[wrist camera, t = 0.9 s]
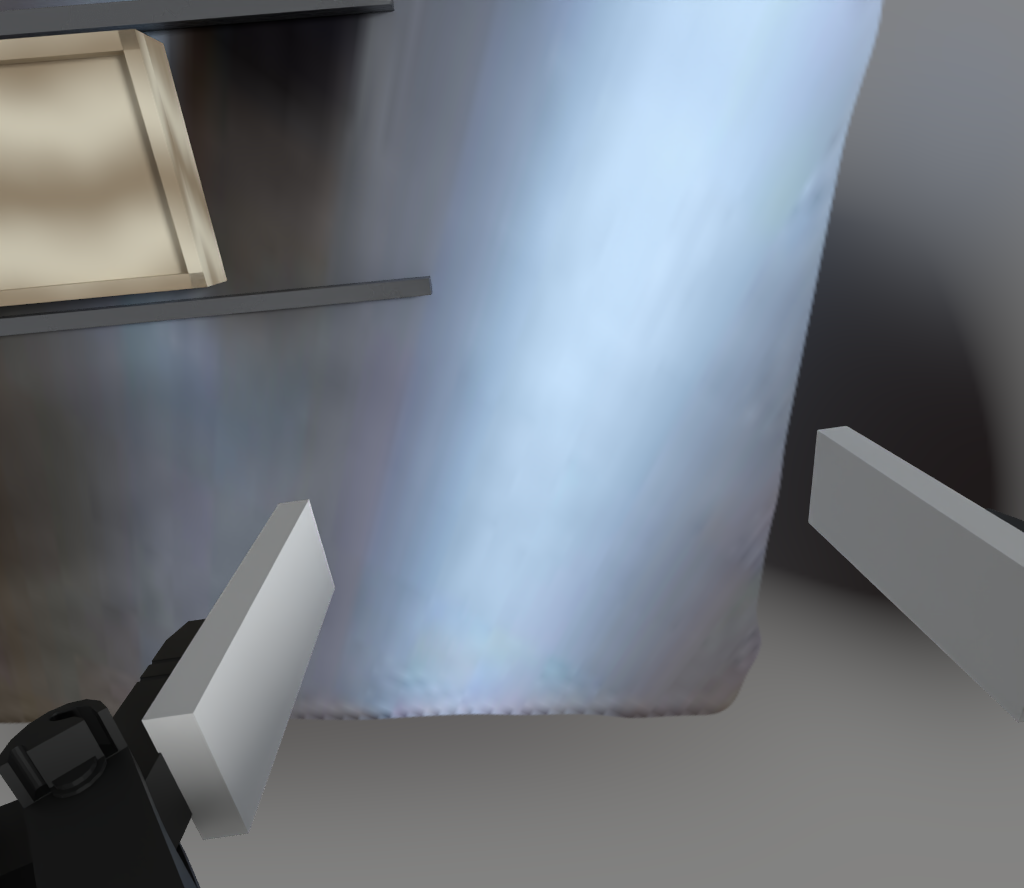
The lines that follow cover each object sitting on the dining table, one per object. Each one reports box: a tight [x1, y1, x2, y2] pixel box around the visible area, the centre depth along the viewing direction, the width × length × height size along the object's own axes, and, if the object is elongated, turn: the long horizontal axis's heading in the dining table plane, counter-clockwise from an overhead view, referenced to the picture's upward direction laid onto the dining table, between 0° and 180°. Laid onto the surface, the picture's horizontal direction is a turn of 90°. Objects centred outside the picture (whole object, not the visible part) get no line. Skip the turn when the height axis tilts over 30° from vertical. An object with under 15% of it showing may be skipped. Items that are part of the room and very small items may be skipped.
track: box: [0, 0, 432, 336], centre depth 33 cm, size 16×31×1 cm, turn 95°
